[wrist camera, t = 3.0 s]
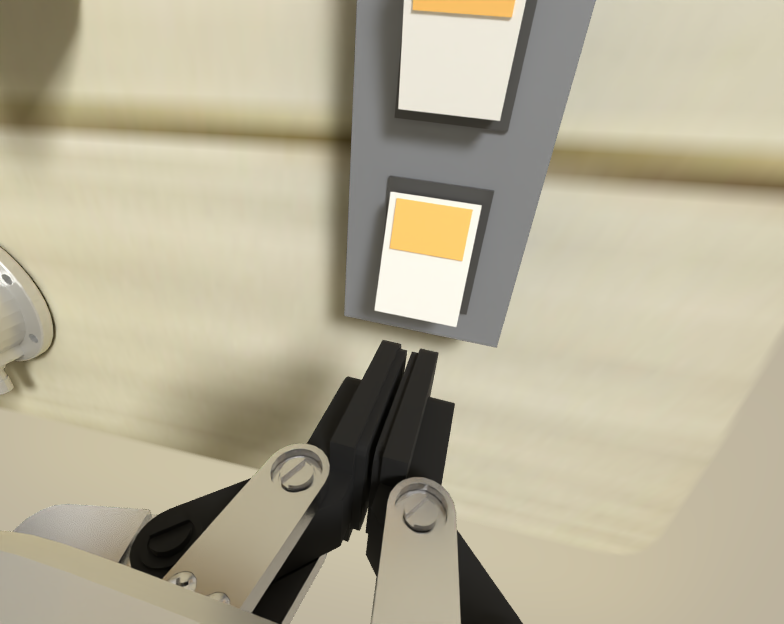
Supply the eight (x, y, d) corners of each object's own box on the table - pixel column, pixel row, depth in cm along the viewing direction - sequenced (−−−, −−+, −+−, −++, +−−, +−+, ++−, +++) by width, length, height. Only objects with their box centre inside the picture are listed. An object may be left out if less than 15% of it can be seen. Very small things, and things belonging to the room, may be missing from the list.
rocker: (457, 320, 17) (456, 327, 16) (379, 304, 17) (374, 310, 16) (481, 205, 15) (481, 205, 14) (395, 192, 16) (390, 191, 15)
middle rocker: (500, 113, 14) (500, 121, 13) (404, 102, 14) (397, 109, 13) (543, -85, 10) (546, -91, 10) (416, -89, 11) (408, -96, 10)
